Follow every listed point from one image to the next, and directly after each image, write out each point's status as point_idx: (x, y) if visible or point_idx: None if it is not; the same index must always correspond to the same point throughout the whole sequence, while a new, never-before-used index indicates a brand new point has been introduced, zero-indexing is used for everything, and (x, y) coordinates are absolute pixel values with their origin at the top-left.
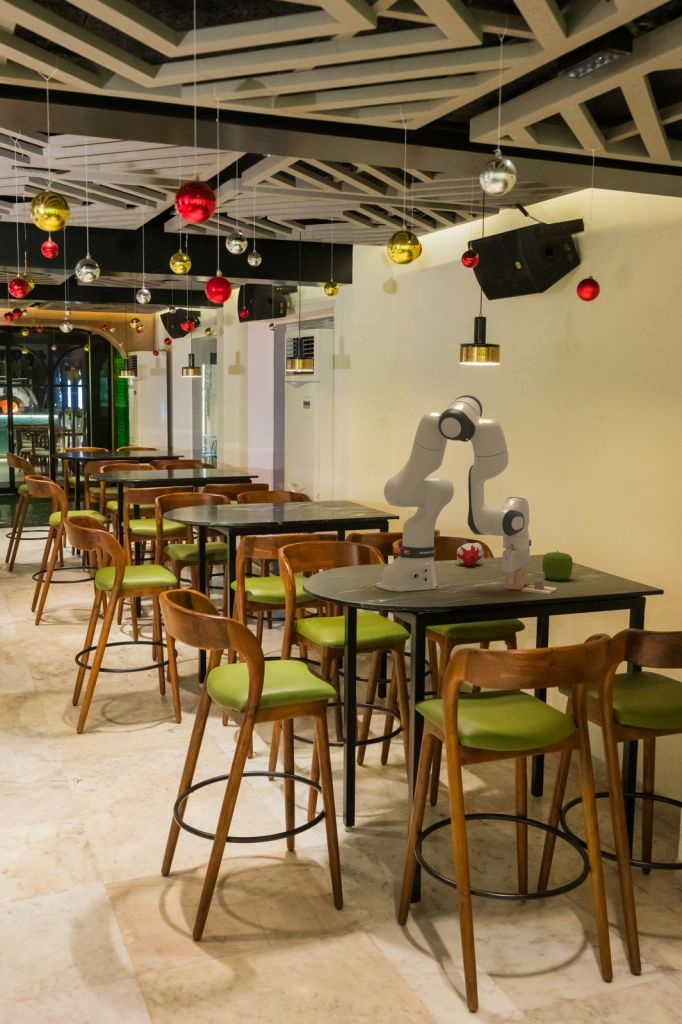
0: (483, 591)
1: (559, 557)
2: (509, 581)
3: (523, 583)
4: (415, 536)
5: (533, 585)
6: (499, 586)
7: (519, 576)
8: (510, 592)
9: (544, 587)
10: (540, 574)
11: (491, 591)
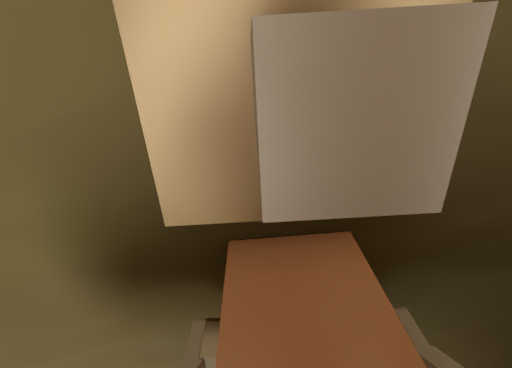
0: (495, 362)
1: None
2: None
3: (246, 264)
4: None
5: (160, 193)
6: None
7: (403, 337)
8: (487, 246)
9: (189, 56)
10: (456, 67)
11: (482, 337)
